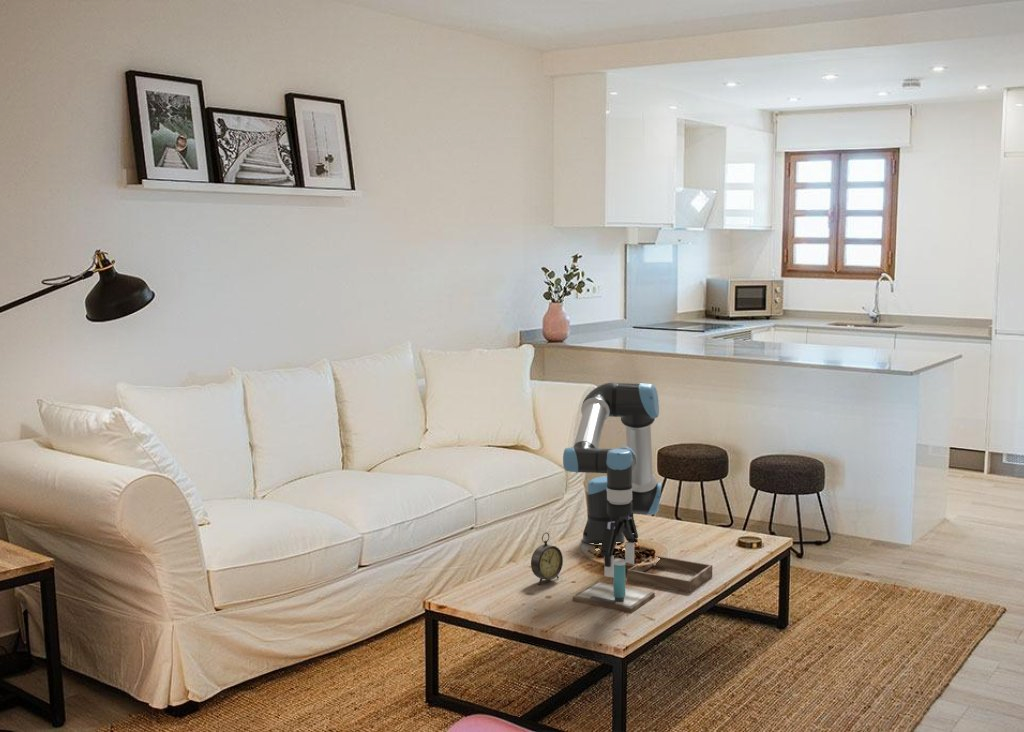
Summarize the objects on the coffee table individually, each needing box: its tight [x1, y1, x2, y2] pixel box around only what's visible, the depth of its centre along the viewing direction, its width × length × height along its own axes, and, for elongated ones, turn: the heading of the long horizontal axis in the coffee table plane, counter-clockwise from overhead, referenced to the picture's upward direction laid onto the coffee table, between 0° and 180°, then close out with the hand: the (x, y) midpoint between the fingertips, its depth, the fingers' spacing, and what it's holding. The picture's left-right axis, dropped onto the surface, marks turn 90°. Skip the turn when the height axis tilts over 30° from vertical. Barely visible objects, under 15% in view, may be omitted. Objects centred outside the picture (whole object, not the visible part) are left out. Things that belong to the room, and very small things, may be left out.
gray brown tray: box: [626, 555, 713, 593], centre depth 337 cm, size 19×22×4 cm
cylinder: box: [612, 558, 627, 602], centre depth 313 cm, size 4×4×12 cm
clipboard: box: [572, 581, 656, 613], centre depth 319 cm, size 16×20×2 cm
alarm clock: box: [530, 531, 564, 586], centre depth 335 cm, size 11×5×16 cm, turn 133°
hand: (619, 569), depth 313 cm, fingers open, 13 cm apart
